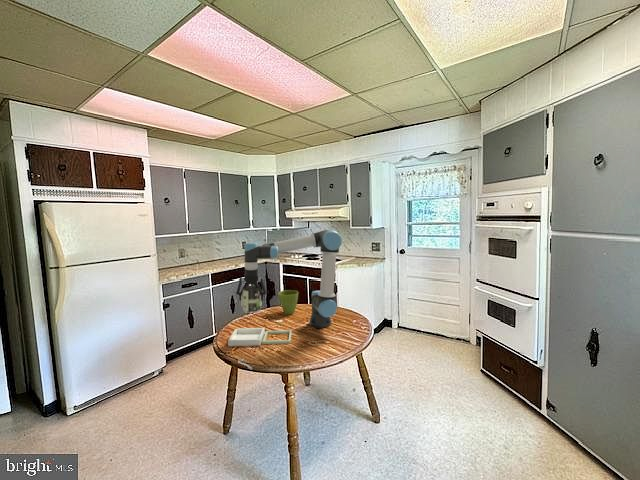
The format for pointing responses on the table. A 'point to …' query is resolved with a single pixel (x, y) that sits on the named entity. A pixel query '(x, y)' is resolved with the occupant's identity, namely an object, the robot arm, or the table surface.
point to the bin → (247, 337)
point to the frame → (277, 340)
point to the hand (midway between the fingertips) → (251, 305)
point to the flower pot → (288, 300)
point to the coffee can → (251, 299)
